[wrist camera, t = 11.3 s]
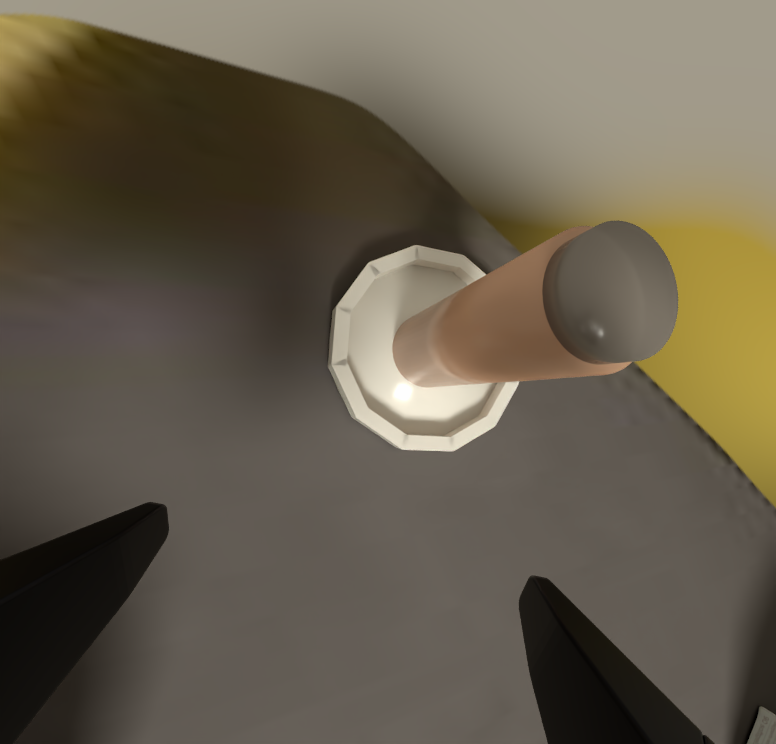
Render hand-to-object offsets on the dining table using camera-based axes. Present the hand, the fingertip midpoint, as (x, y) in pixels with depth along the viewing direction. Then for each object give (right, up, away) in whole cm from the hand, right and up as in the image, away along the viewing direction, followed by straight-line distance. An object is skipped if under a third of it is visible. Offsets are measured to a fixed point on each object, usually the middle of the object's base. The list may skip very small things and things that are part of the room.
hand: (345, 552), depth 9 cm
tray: (+3, +6, +14) cm, 15 cm away
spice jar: (+3, +6, +13) cm, 15 cm away
